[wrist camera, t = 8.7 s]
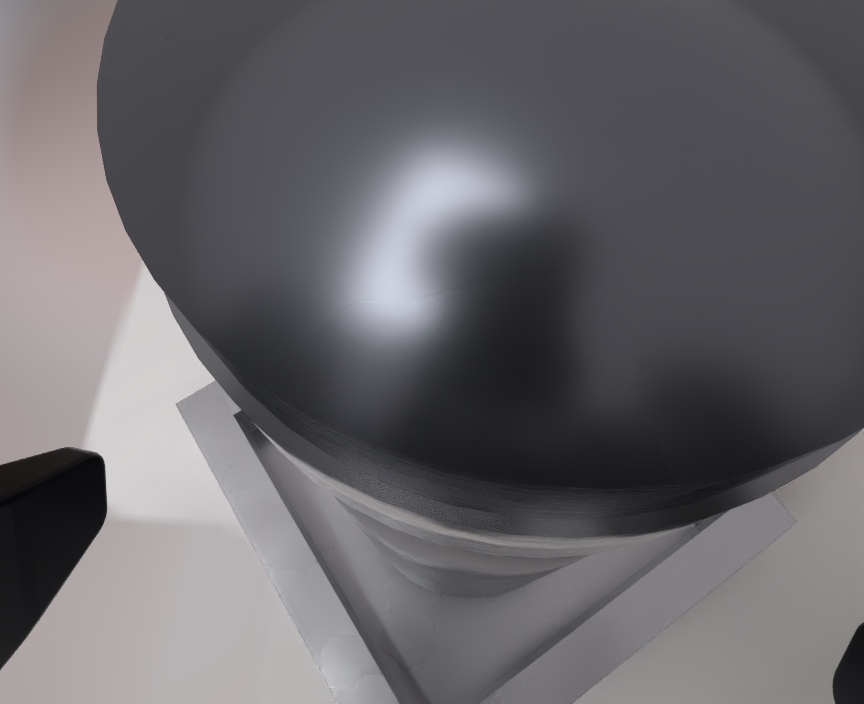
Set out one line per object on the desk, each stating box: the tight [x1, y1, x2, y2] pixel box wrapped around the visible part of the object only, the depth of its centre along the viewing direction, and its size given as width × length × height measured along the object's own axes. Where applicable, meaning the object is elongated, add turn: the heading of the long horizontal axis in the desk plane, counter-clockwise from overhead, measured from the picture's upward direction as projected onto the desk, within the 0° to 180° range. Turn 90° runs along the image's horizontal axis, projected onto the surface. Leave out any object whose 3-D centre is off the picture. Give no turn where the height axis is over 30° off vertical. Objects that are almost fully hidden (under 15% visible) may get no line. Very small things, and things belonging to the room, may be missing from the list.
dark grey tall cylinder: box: [97, 0, 864, 598], centre depth 10 cm, size 6×6×13 cm
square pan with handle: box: [176, 381, 797, 704], centre depth 17 cm, size 27×10×2 cm, turn 124°
